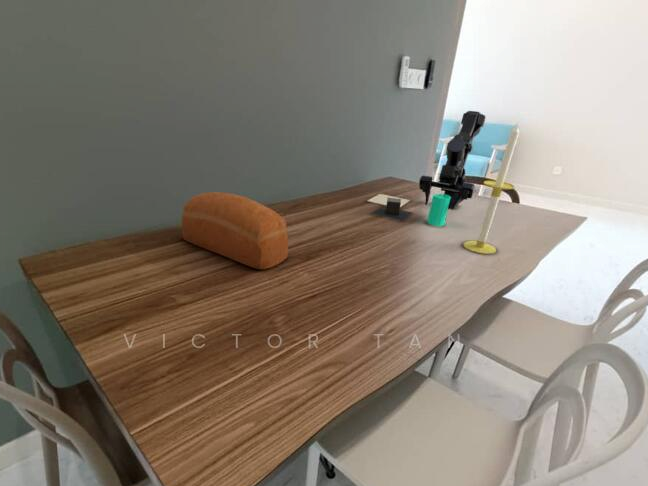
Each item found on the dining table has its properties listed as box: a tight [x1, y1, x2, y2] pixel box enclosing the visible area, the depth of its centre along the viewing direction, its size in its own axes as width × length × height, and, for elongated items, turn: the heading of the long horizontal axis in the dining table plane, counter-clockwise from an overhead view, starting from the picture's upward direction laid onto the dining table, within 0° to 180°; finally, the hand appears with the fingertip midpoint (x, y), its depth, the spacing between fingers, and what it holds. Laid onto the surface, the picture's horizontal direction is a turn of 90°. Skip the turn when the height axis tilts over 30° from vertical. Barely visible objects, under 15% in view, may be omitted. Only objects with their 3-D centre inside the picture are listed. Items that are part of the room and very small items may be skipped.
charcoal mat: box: [371, 205, 413, 221], centre depth 151 cm, size 12×12×1 cm
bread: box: [181, 191, 289, 270], centre depth 111 cm, size 14×33×16 cm, turn 54°
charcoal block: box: [385, 198, 401, 216], centre depth 150 cm, size 5×5×5 cm
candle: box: [426, 192, 451, 227], centre depth 141 cm, size 6×6×12 cm
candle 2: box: [462, 120, 520, 255], centre depth 117 cm, size 10×10×38 cm
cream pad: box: [367, 193, 411, 208], centre depth 165 cm, size 14×14×1 cm
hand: (438, 206), depth 140 cm, fingers open, 9 cm apart
